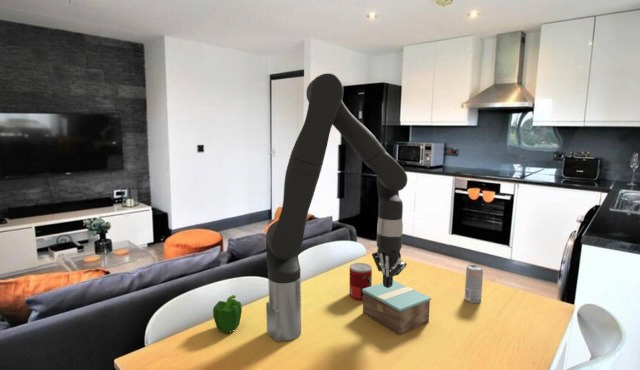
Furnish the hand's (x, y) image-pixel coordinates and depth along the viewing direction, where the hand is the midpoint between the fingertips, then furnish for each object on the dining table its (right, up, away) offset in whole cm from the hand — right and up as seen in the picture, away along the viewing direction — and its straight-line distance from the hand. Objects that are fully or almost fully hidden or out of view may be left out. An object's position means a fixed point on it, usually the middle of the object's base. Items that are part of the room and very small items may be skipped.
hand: (387, 286), depth 113 cm
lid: (+3, -4, +3) cm, 5 cm away
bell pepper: (-48, -12, -3) cm, 50 cm away
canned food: (-6, -9, +19) cm, 22 cm away
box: (+3, -11, +4) cm, 12 cm away
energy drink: (+33, -9, +15) cm, 37 cm away
